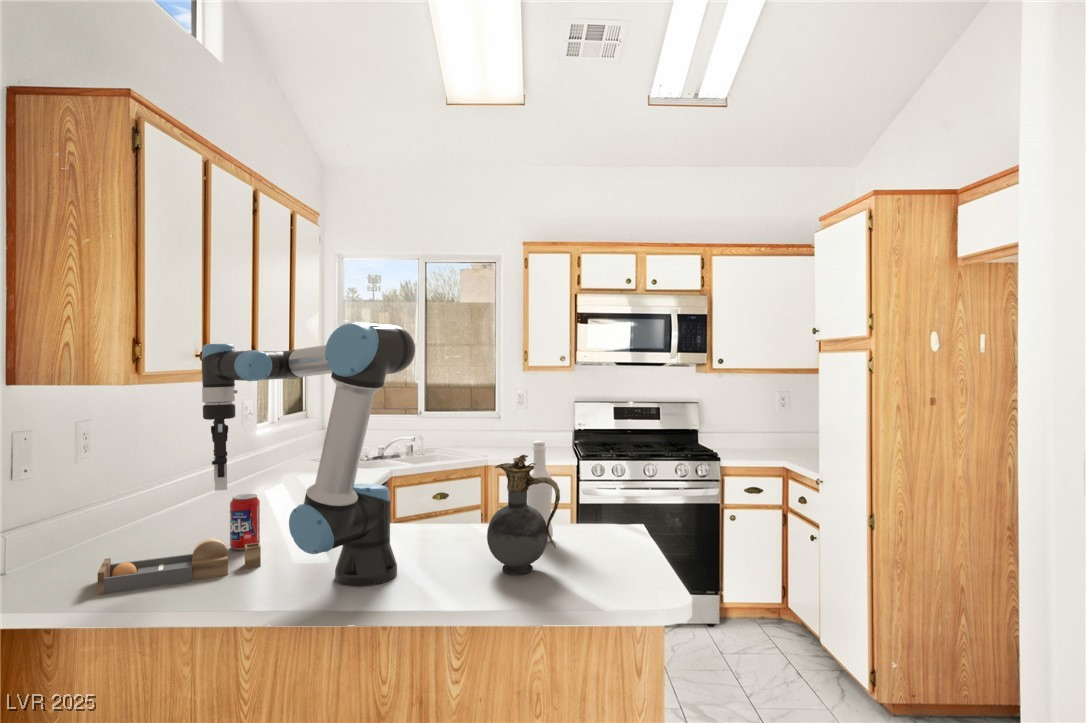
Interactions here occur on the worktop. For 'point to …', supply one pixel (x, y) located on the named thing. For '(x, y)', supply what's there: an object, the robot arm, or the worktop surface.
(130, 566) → the ball
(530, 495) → the bottle
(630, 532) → the worktop surface
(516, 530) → the pitcher
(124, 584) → the tray
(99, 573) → the backstop
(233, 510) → the soda can
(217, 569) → the tan rounded block
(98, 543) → the worktop surface
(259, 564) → the hollow wooden sleeve
